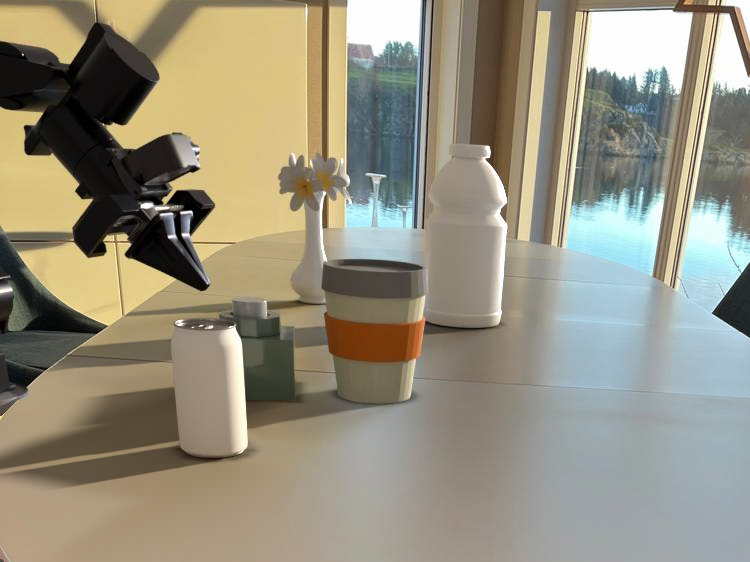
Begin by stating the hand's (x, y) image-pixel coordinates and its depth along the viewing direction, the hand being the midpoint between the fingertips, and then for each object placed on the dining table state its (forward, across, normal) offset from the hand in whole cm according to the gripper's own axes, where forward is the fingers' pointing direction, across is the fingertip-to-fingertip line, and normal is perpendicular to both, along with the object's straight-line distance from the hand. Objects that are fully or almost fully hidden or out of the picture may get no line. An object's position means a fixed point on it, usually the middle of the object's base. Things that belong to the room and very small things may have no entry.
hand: (206, 288), depth 97 cm
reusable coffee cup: (+18, +18, +1) cm, 25 cm away
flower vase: (-6, +81, +25) cm, 85 cm away
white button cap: (+2, +13, +4) cm, 13 cm away
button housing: (+8, +12, +10) cm, 18 cm away
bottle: (+15, +76, +4) cm, 77 cm away
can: (+14, -11, +6) cm, 18 cm away
